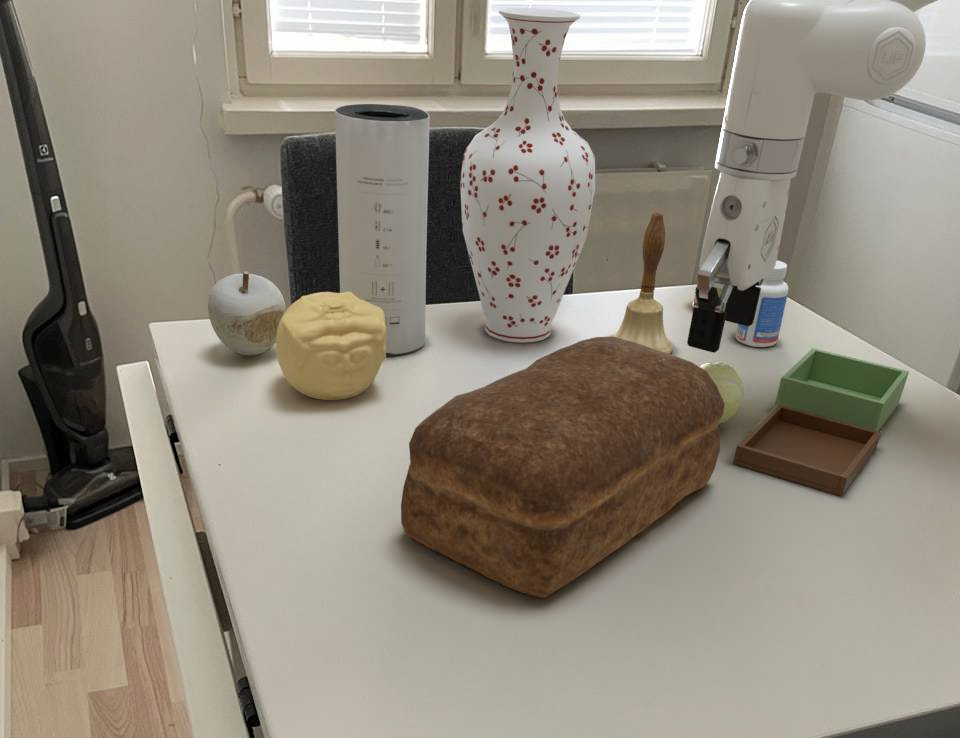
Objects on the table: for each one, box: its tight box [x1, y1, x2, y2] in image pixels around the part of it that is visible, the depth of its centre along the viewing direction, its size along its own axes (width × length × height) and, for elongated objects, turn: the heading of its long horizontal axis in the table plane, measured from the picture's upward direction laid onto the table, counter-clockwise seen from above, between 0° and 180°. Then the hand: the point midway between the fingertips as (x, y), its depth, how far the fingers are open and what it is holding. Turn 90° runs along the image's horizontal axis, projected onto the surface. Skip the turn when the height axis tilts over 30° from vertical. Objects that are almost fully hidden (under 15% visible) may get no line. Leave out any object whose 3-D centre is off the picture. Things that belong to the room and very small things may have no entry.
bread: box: [400, 335, 724, 599], centre depth 87 cm, size 17×30×13 cm, turn 141°
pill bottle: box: [735, 259, 789, 348], centre depth 126 cm, size 6×5×10 cm
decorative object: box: [207, 270, 286, 356], centre depth 115 cm, size 9×9×10 cm
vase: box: [459, 7, 596, 344], centre depth 117 cm, size 16×16×35 cm
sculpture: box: [275, 291, 387, 401], centre depth 107 cm, size 11×12×11 cm
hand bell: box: [610, 211, 674, 354], centre depth 120 cm, size 8×8×16 cm
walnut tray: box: [732, 405, 882, 497], centre depth 102 cm, size 11×13×2 cm
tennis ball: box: [699, 361, 745, 425], centre depth 106 cm, size 6×7×7 cm
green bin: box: [773, 347, 910, 432], centre depth 112 cm, size 11×11×4 cm
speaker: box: [334, 103, 431, 357], centre depth 115 cm, size 11×10×26 cm
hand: (720, 335), depth 102 cm, fingers open, 9 cm apart
